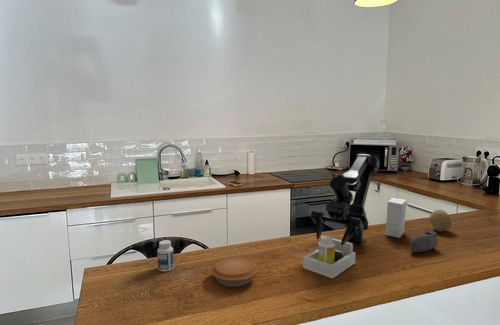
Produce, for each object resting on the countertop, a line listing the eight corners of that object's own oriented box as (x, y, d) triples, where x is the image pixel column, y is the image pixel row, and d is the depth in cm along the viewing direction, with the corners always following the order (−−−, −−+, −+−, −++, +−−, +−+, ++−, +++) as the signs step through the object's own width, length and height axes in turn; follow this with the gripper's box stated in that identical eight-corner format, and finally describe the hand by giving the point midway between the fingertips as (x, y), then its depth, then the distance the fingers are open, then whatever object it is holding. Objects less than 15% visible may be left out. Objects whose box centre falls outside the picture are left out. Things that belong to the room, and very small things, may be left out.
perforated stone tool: (414, 256, 133) (416, 239, 132) (403, 251, 138) (404, 234, 137) (440, 249, 140) (442, 232, 139) (428, 245, 144) (430, 228, 143)
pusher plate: (322, 256, 130) (323, 245, 129) (343, 263, 124) (344, 251, 123) (321, 257, 129) (321, 246, 128) (342, 264, 123) (342, 252, 123)
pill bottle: (168, 263, 127) (167, 238, 126) (176, 268, 123) (175, 242, 122) (155, 268, 123) (154, 242, 122) (163, 273, 120) (162, 246, 118)
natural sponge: (425, 227, 166) (426, 206, 164) (445, 228, 165) (446, 207, 163) (432, 233, 157) (433, 212, 156) (453, 234, 156) (455, 212, 154)
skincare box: (389, 230, 162) (391, 197, 160) (405, 233, 158) (407, 199, 156) (384, 235, 155) (386, 201, 153) (400, 238, 151) (402, 203, 149)
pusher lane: (327, 254, 135) (327, 236, 134) (355, 263, 127) (355, 244, 126) (303, 267, 123) (303, 248, 122) (332, 278, 116) (333, 258, 115)
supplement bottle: (335, 263, 125) (336, 235, 123) (332, 269, 120) (333, 241, 118) (320, 260, 127) (320, 233, 125) (316, 266, 122) (316, 238, 120)
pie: (202, 276, 118) (201, 262, 117) (240, 264, 126) (240, 251, 126) (226, 296, 105) (226, 280, 104) (267, 281, 114) (267, 266, 113)
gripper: (312, 189, 131) (298, 225, 124) (362, 196, 120) (349, 236, 113) (321, 205, 139) (308, 240, 132) (368, 212, 128) (357, 251, 121)
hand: (329, 241), depth 124 cm, fingers open, 9 cm apart
